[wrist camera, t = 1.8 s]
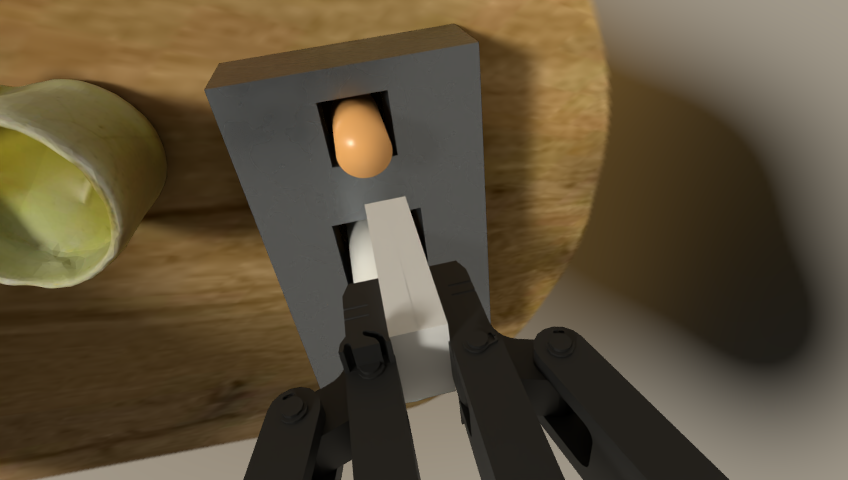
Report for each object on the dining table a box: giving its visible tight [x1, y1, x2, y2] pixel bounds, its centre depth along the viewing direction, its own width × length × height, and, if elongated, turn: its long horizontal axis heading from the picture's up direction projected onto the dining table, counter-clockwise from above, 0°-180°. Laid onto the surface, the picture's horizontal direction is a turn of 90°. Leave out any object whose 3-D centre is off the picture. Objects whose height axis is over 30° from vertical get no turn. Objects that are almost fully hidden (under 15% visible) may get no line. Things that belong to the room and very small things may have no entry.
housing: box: [204, 24, 491, 389], centre depth 33 cm, size 14×24×5 cm, turn 7°
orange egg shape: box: [331, 94, 392, 178], centre depth 26 cm, size 3×3×6 cm
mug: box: [0, 79, 167, 288], centre depth 24 cm, size 12×10×10 cm
